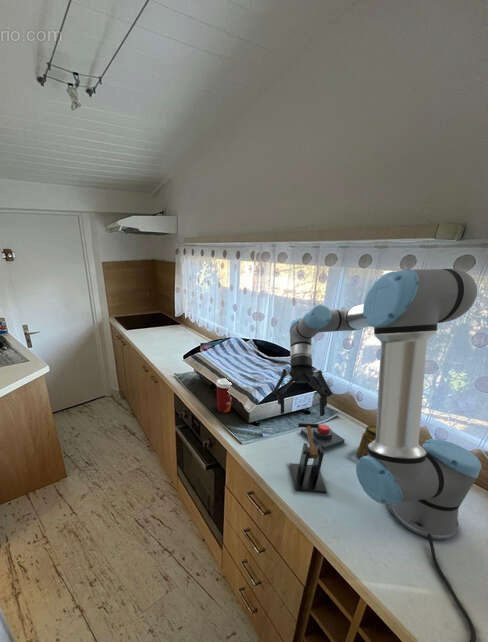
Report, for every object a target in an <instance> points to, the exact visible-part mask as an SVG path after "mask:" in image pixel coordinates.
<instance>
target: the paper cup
mask: <svg viewBox="0 0 488 642" xmlns="http://www.w3.org/2000/svg"><path fill="white" fill-rule="evenodd" d="M227 379H228V378H227ZM227 379H226V377H221V378H218V379H217V381H216V382H215V386H216V407H217V411H218V412H220V413H225V414H226V413H228V412H230V410H231V404H232V397H233V396H232V397H231V396H230V394H229V393H228V392H227V391H228V389H229V388H230V386H231V385H232V383H231V382H229V381H228V380H227Z"/></svg>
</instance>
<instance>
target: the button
mask: <svg viewBox="0 0 488 642" xmlns="http://www.w3.org/2000/svg"><path fill="white" fill-rule="evenodd" d="M320 424H321V425H319V429H318V432H320V433H323V434H328V432H329V428H330V426H329V425H328V424H324V423H323V424H322V423H320Z"/></svg>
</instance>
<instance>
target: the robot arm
mask: <svg viewBox="0 0 488 642" xmlns="http://www.w3.org/2000/svg"><path fill="white" fill-rule="evenodd" d="M477 296H478V285H477V283H476V281H475V278H473V277H472V275H470V274H469V273H468V272H466V271H463V270H460V269H457V268H434V269H433V268H430V269H429V268H428V269H427V268H426V269H421V268H420V269H419V268H418V269H416V268H415V269H409V268H407V269H401V270H394V271H389V272H387V273H385V274H383V275H381V276H379V277H378V278H377V279H376V280H375V281H374V282H373V284H372V286H370V287H369V289H368V291H367V292H366V295H365V297H364V300H363V303H362V304H359V305H355V306H352V307H348V308H340V309H330V308H329V307H328V306H326V305H323V304H315V305H313V306H312V307H311V308H310V309H309V310H308V311H307V312H305V314H304V315H303V317H297V318H295V319H293V320H292V321H291V322H290V325H289V344H290V345H289V347H290V350H289V351H290V352H289V353H290V354H289V355H290V356H289V357H290V365H289V366H290V368H289V369H290V370H287V369H286V368H283V369H282V371H281V375H280V378H279V380H278V381H277V384H275V387H274V388H273V391H272V392H271V393H272V394H273V395H276V396H277V405H280V415H284V413H285V394H284V392H286V391H287V390H288V389H289V387H290V386H291V385H293V383H296V384H306V383H307V384H308V385H309V386H310V387H311V388H312V389H313V390H314V391H315V392H316V393H317V394H318V395H319V400H318V401H319V416H320V417H323V416H324V415H325V416H326V410H325V408H326V407H327V406H328V398H329V397H331V396H332V395H333V391H332V390H331V388H330V386H329V385H328V383H327V381H326V379H325V378H324V376H323V371H322V370H321V369H319V370H318V371H317V370H316V371H313V351H312V350H313V349H312V347H313V345H312V338H314V337H315V336H316V335H317V334H319V333H330V332H331V333H332V332H333V333H334V332H353V331H358V330H359V331H360V330H362V329H366V328H371V327H372V328H373V337H375V338H376V339H377V340H378V341H379V342H380V353H379V355H380V356H379V373H378V389H377V390H378V392H377V409H376V425H375V426H376V439H375V440H374V441H372V442H371V443H370V444H369V445H368V456H363V457H362V458H360V459H359V458H358V460H357V462H356V465H355V472H356V477H357V480H358V483H359V484H360V486H361V488H362V490H363V491H364V492H365V494H367V496H368V497H369V498H370V499H372V500H373V501H375V502H376V503H379V504H381V505H388V507H389V511H390V513H391V515H392V516H393V518H394V519H395V520H396V521H397V522H398V523H399V524H400V525H402V526H403V527H404V528H405V529H407V530H408V531H410V532H411V533H414V534H415V535H418V536H420V537H424V538H425V539H426V538H427V539H428V543H429V547H430V553H431V558H432V561H433V563H434V566H435V568H436V570H437V573H438V574H439V576H440V577H441V579H442V581H443V583H444V585H445V586H446V588H447V589H448V591H449V594H450V595H451V597H452V599H453V600H454V602H455V603H456V605H457V607H458V609H459V610H460V612H461V613H462V615H463V617H464V618H465V620H466V622H467V624H468V626H469V627H468V628H469V630H470V640H469V642H477V633H476V629H475V626H474V623H473V621H472V619H471V618H470V615H469V614H468V613H467V611H466V609H465V608H464V606H463V604H462V603H461V602H460V600H459V598H458V596H457V595H456V593H455V591H454V589H453V588H452V586H451V584H450V582H449V581H448V579H447V578H446V576H445V574H444V572H443V571H442V568H441V567H440V565H439V563H438V560H437V556H436V552H435V551H436V550H435V546H434V542H433V541H445V540H449V539H451V538H453V537H454V536H455V534H456V532H457V531H458V528H459V519H458V517H459V508H460V507H461V505H462V503H463V501H464V500H465V499H466V496H467V495H468V493H469V491H471V488H472V487H473V485H474V483H475V481H476V480H477V479H478V478H479V474H480V471H481V469H482V464H481V461H480V459H479V458H478V457H477V456H476V455H475V454H474V453H472V451H470V450H468V449H466V448H465V447H462V446H460V445H458V444H455V443H453V442H451V441H447V440H445V439H444V440H443V439H438V438H430V439H427V440H425V442H424V443H422V445H420V432H421V421H422V420H421V419H422V407H423V395H424V383H425V382H424V381H425V374H426V373H425V371H426V360H427V349H428V348H427V347H428V340H430V338H431V337H433V336H434V335H435V334H436V333H437V331H438V324H442V323H448V322H451V321H454V320H456V319H458V318H460V317H462V316H464V315H465V314H466V313H467V312H468V311H469V310H470V309H471V308H472V307H473V305H474V304H475V301H476V299H477ZM288 375H289V376H290V379H289V380H288V381H287V382H286V384H285V385H284V386H283V387H282V388H280V386H281V385H282V383H283V381H284V380H285V378H286V377H288ZM313 376H314V377H315V378H316V379H317V381H315V380H316V379H314V378H313ZM317 382H318V383H319V384H318V383H317ZM279 389H280V390H279Z"/></svg>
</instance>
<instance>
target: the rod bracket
mask: <svg viewBox="0 0 488 642" xmlns="http://www.w3.org/2000/svg"><path fill="white" fill-rule="evenodd" d="M316 447H317V452H318V456H317V458H316V459H313V460H312V464H309V459H310V458H309V454H310V451H309V444H308V443H307V442H303V443H302V449H301V454H300V459H299V463H293V462H291V463H289V470H290V474H291V477H292V482H293V486H294V491H296V492H306V493H318V494H319V493H320V494H327V489H326V486H325V483H324V480H323V477H322V475H321V472H320V471H321V467H322V465H323V460H324V455H325V450H323V449H322V447H321V444H317V445H316Z"/></svg>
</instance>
